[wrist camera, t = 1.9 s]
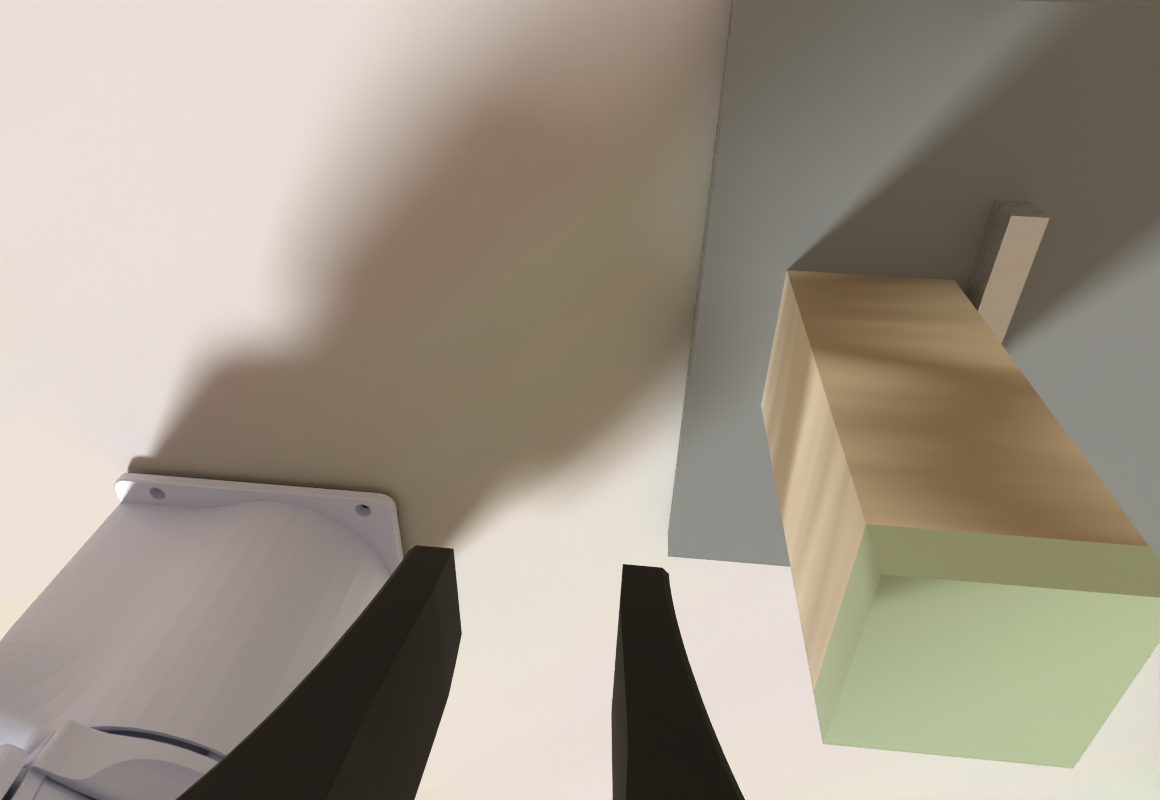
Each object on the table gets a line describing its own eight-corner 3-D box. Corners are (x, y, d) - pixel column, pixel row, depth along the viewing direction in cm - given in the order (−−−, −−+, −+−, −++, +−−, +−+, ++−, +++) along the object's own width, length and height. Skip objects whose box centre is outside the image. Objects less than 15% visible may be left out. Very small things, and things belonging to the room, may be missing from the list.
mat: (668, 534, 25) (668, 579, 24) (734, -16, 16) (742, -5, 15) (1241, 581, 24) (1284, 632, 23) (1649, 19, 15) (1770, 35, 14)
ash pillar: (761, 405, 21) (823, 743, 13) (786, 270, 19) (881, 574, 10) (911, 415, 21) (1073, 768, 12) (954, 280, 19) (1188, 600, 10)
